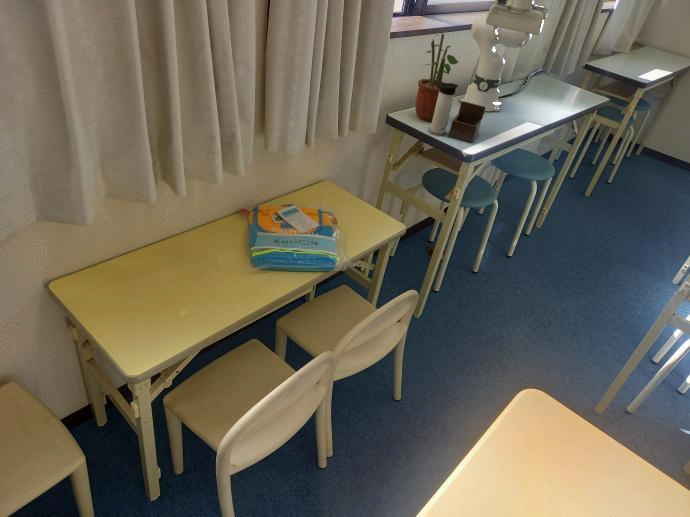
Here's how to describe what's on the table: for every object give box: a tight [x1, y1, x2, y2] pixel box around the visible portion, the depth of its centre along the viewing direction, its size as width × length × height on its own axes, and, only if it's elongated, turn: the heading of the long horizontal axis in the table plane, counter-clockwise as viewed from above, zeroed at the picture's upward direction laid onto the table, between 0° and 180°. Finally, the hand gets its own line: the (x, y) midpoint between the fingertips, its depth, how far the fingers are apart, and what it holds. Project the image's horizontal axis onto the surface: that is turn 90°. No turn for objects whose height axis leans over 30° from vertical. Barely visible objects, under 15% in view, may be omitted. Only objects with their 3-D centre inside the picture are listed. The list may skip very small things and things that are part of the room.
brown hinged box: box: [447, 101, 486, 144], centre depth 198 cm, size 11×10×12 cm
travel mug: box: [429, 82, 459, 136], centre depth 195 cm, size 6×7×20 cm
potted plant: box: [415, 32, 460, 122], centre depth 204 cm, size 17×16×35 cm
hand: (507, 42), depth 182 cm, fingers open, 8 cm apart
